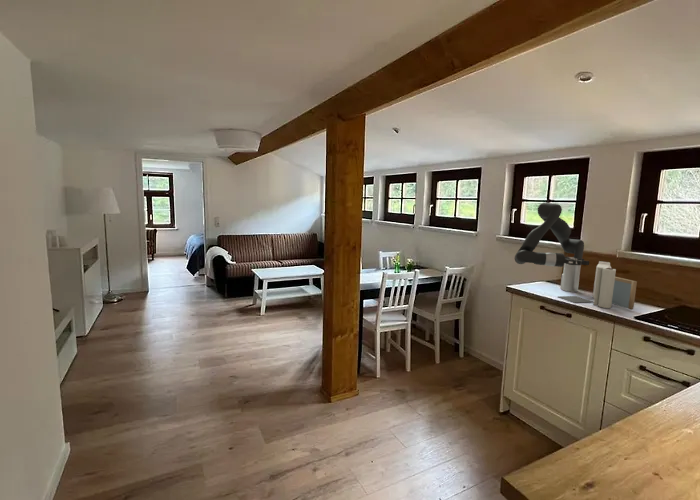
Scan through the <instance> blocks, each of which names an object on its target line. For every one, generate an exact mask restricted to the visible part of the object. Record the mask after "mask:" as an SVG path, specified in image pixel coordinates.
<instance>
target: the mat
mask: <svg viewBox="0 0 700 500" xmlns="http://www.w3.org/2000/svg"><path fill="white" fill-rule="evenodd" d="M557 298H559V299H561V300H563V301H564V300H565V301H568V302H570V303H573V304H587V303H594V300H590V299H588V298H587V299H586V298H583V297H580V296H578V295H564V296H557Z"/></svg>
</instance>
